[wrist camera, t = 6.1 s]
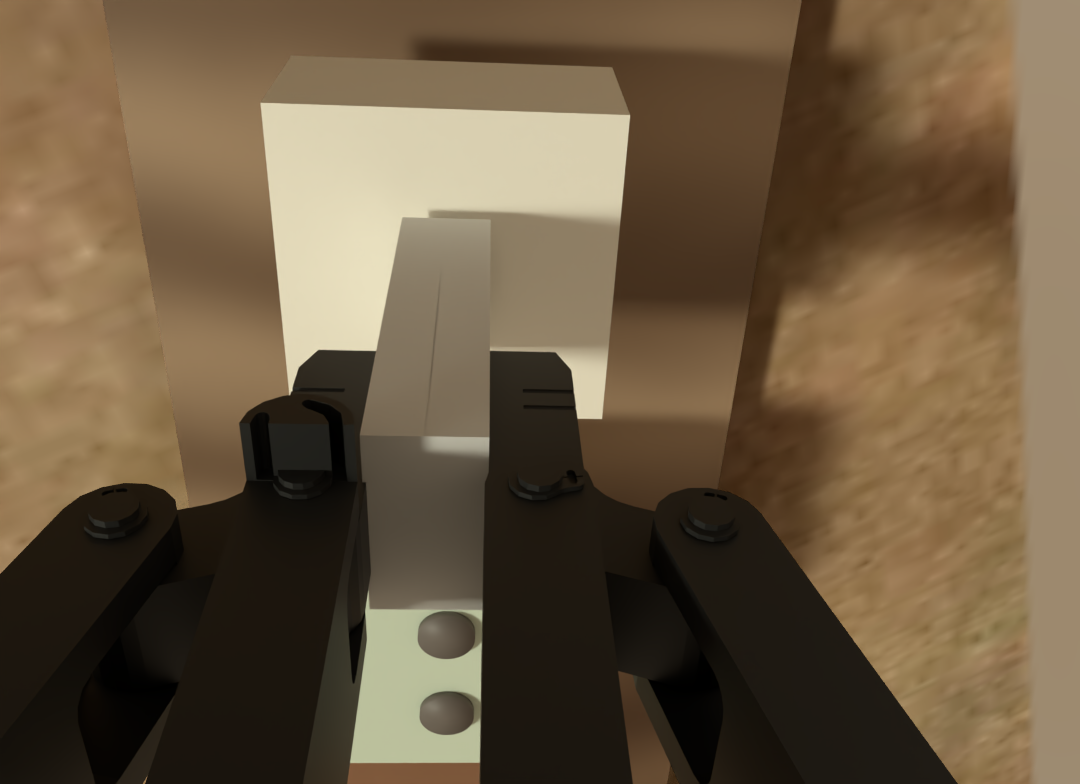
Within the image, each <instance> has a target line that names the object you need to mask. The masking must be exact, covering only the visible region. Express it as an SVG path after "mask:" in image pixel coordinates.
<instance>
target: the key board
mask: <svg viewBox="0 0 1080 784" xmlns="http://www.w3.org/2000/svg"><path fill="white" fill-rule="evenodd" d="M801 2H802V0H103V5H104V11H105V17H106V23H107V29H108V34H109V40H110V46H111V52H112V58H113V64H114V69H115V75H116V81H117V87H118V93H119V99H120V104H121V110H122V116H123V122H124V128H125V134H126V139H127V145H128V151H129V157H130V163H131V168H132V174H133V180H134V186H135V192H136V198H137V203H138V209H139V215H140V221H141V227H142V233H143V238H144V244H145V250H146V256H147V262H148V268H149V273H150V279H151V285H152V291H153V297H154V303H155V308H156V314H157V320H158V326H159V332H160V338H161V343H162V349H163V355H164V361H165V367H166V373H167V378H168V384H169V390H170V396H171V402H172V408H173V413H174V419H175V425H176V431H177V437H178V442H179V448H180V454H181V460H182V466H183V472H184V477H185V483H186V489H187V495H188V501H189V507H190V508H191V507H196V506H201V505H207V504H211V503H214V502H218V501H222V500H226V499H228V498H230V497H233V496H235V495H237V494H239V493H241V492H243V489H244V486H245V483H246V473H245V466H244V458H243V450H242V443H241V435H240V427H239V422H240V421H241V420H242V418H243V417H244V416H245V414H246V413H247V412H248V411H249V410H251V409H252V408H254V407H256V406H257V405H259V404H261V403H262V402H264V401H268V400H271V399H274V398H278V397H281V396H286V395H289V386H288V376H287V366H286V356H285V346H284V336H283V326H282V315H281V305H280V295H279V285H278V275H277V265H276V255H275V245H274V235H273V225H272V214H271V204H270V194H269V184H268V174H267V164H266V154H265V144H264V134H263V124H262V113H261V101H262V100H263V98H264V97H265V95H266V94H267V92H268V91H269V89H270V87H271V86H272V84H273V83H274V81H275V80H276V78H277V77H278V75H279V74H280V72H281V71H282V69H283V68H284V66H285V65H286V63H287V62H288V60H289V59H290V57H291V56H315V57H343V58H370V59H398V60H426V61H453V62H481V63H509V64H536V65H564V66H592V67H612V68H613V71H614V73H615V76H616V79H617V81H618V84H619V87H620V89H621V92H622V95H623V97H624V100H625V103H626V105H627V108H628V111H629V113H630V122H629V133H628V144H627V154H626V165H625V176H624V187H623V197H622V208H621V219H620V230H619V241H618V251H617V262H616V273H615V284H614V295H613V305H612V316H611V327H610V338H609V348H608V359H607V370H606V381H605V392H604V402H603V413H602V419H578V426H579V434H580V442H581V450H582V458H583V466H584V469H585V470H586V471H587V472H588V474H589V476H590V478H591V480H592V482H593V485H594V487H596V488H597V489H598V490H599V491H601V492H602V493H603V494H605V495H606V496H608V497H610V498H612V499H614V500H616V501H618V502H621V503H625V504H628V505H631V506H634V507H639V508H643V509H647V510H652V511H655V510H656V507H657V505H658V502H660V501H661V500H662V499H664V498H665V497H666V496H667V495H669V494H670V493H673V492H676V491H680V490H683V489H686V488H712V489H717V490H718V485H719V479H720V473H721V467H722V462H723V456H724V450H725V444H726V438H727V432H728V427H729V421H730V415H731V409H732V403H733V397H734V392H735V386H736V380H737V374H738V368H739V363H740V357H741V351H742V345H743V339H744V333H745V328H746V322H747V316H748V310H749V304H750V299H751V293H752V287H753V281H754V275H755V269H756V264H757V258H758V252H759V246H760V240H761V234H762V229H763V223H764V217H765V211H766V205H767V200H768V194H769V188H770V182H771V176H772V170H773V165H774V159H775V153H776V147H777V141H778V136H779V130H780V124H781V118H782V112H783V106H784V101H785V95H786V89H787V83H788V77H789V71H790V66H791V60H792V54H793V48H794V42H795V37H796V31H797V25H798V19H799V13H800V7H801ZM618 674H619V682H620V689H621V697H622V704H623V712H624V720H625V727H626V735H627V742H628V750H629V757H630V765H631V772H632V780H633V784H667V782H668V776H669V770H670V762H669V760H668V758H667V756H666V754H665V751H664V749H663V747H662V745H661V743H660V741H659V738H658V736H657V734H656V732H655V730H654V728H653V725H652V723H651V721H650V719H649V717H648V715H647V712H646V710H645V708H644V706H643V704H642V702H641V699H640V697H639V695H638V693H637V691H636V688H635V683H634V678H633V675H631V674H627V673H624V672H620V671H618Z"/></svg>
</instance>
